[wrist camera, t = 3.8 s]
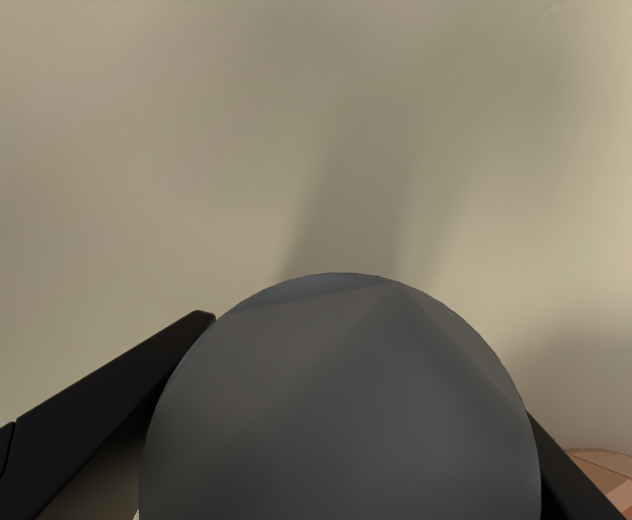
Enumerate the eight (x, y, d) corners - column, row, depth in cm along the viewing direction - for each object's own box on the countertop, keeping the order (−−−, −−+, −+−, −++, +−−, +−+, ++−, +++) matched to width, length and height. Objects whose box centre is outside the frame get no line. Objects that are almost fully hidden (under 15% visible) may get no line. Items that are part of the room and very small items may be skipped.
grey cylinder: (410, 426, 14) (618, 564, 5) (274, 504, 13) (242, 836, 4) (342, 293, 15) (418, 216, 6) (212, 357, 14) (78, 377, 5)
